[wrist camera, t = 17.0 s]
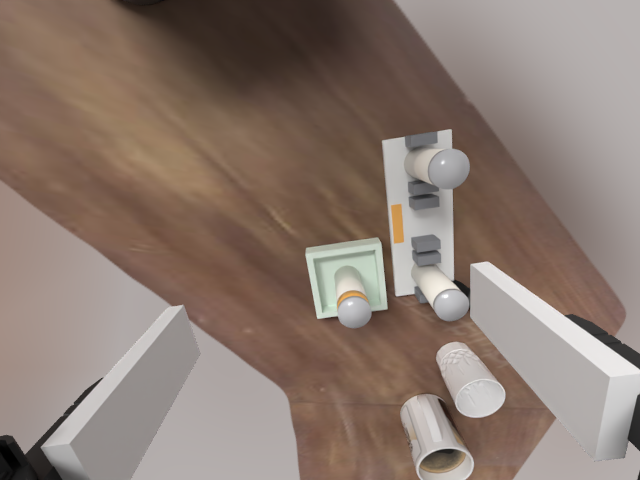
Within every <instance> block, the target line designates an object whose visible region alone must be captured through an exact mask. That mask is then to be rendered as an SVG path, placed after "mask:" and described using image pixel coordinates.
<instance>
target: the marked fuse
mask: <svg viewBox="0 0 640 480" xmlns="http://www.w3.org/2000/svg"><path fill="white" fill-rule="evenodd" d="M334 282H335V291H336V300H337V312H338V318H339V320H340V322H341V323H342V324H343V325H345V326H346V327H349V328H359V327H362V326H364V325H365V324H366V323H367V322H368V321H369V320H370V318H371V308H370V305H369V302H368V299H367V296H366V293H365V290H364V287H363V283H362V280H361V277H360V274H359V271H358V270H357V269H356V268H355V267H353V266H348V265H347V266H342V267H340V268H339V269H338V270H337V271H336V272H335V275H334Z"/></svg>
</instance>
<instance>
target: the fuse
mask: <svg viewBox="0 0 640 480" xmlns="http://www.w3.org/2000/svg"><path fill="white" fill-rule="evenodd" d="M411 276H412V278H413V280H414V281H415V283H416V284H417V285H418V287H419V288H420V290H421V291H422V293H423V294H424V296H425V297H426V299H427V300H428V302H429V303H430V304H431V306H432V307H433V309H434V311H435V312H436V314H437V315H438V317H439V318H441V319H443V320H445V321H455V320H458V319H460V318H462V317H463V316H464V315H465V314H466V313H467V311H468V309H469V300H468V298H467V296H466V295H465V294H464V293H463V292H462V291H460V290H459V288H458V287H457V286H456V285H455V284H454V283H453V282H452V281H451V280H450V279H449V278H448V277H447V276H446V275H445V274H444V273H443V272H442V271H441V270H440V268H439V267H438V266H437V265H436V264H429V265H422V266H418V265H417V264H416V263H415V264H414V265H413V267H412V269H411Z"/></svg>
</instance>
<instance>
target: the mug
mask: <svg viewBox="0 0 640 480" xmlns="http://www.w3.org/2000/svg"><path fill="white" fill-rule="evenodd" d="M400 417H401V421H402V425H403V428H404V431H405V435H406V438H407V442H408V445H409V448H410V452H411V455H412V459H413V462H414V465H415V469H416V472H417V475H418V477H419V478H420V479H421V480H466V479H467V478H468V477H469V476H470V474H471V473H472V471H473V468H474V460H473V457H472V455H471V453H470V451H469V449H468V447H467V445H466V443H465V441H464V439H463V437H462V435H461V433H460V431H459V429H458V426H457V424H456V422H455V420H454V418H453V416H452V414H451V412H450V410H449V408H448V406H447V404H446V402H445V401H444V400H443V399H441V398H440V397H438V396H436V395H432V394H421V395H417V396H414V397H412V398H410V399H409V400H408V401H406V402H405V403H404V405H403V406H402V408H401V412H400Z"/></svg>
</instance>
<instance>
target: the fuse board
mask: <svg viewBox="0 0 640 480" xmlns="http://www.w3.org/2000/svg"><path fill="white" fill-rule="evenodd" d="M415 148H436V149H452V129H449V130H443V131H437V132H428V133H422V134H415V135H409V136H405V137H401V138H394V139H388V140H382V149H383V160H384V172H385V184H386V195H387V207H388V218H389V230H390V242H391V253H392V265H393V276H394V288H395V295H396V296H403V295H410V294H415V296H416V297H417V299H418V301H419V302H420V303H426V302H428V300H427V299H426V297H425V296H424V294H423V293H422V291H421V290H420V288H419V287H418V285H417V284H416V283H415V281H414V280H413V278H412V276H411V269H412V267H413V265H414V264H415V263H416V264H417V265H418V266H422V265H429V264H436V265H437V266H438V267H439V268H440V270H441V271H442V272H443V273H444V274H445V275H446V276H447V277H448V278H449V279H450V280H451V281H454V244H453V189H441V188H439V187H436V186H435V185H432V184H429V183H427V182H424V181H422V180H419V179H416V178H414V177H411V176H410V175H408V174H407V173H406V171H405V169H404V160H405V157H406V155H407V154H408V153H409V152H410V151H411V150H413V149H415Z"/></svg>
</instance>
